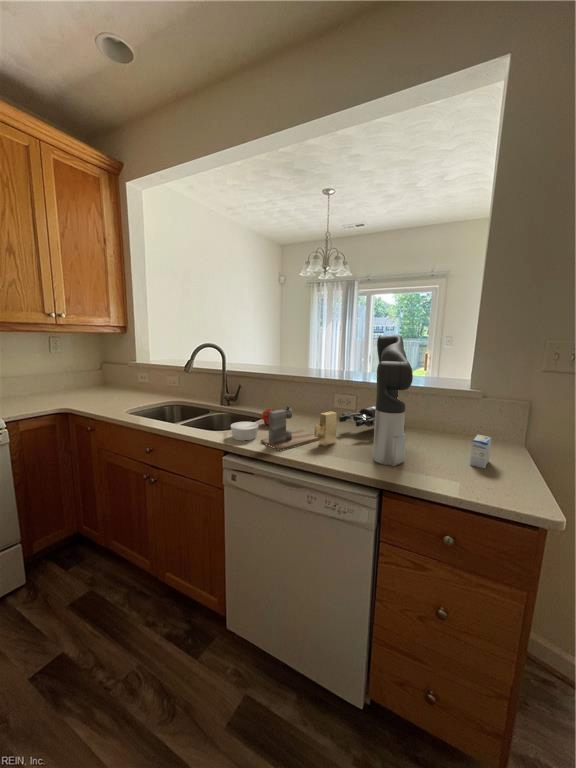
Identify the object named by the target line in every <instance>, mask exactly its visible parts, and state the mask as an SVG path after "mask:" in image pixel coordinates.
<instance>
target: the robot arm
mask: <svg viewBox="0 0 576 768" xmlns="http://www.w3.org/2000/svg"><path fill="white" fill-rule="evenodd" d="M376 349H377V356H378V365H377V369H376V399H375V406H369V407H364V408H362V409H360V410H359V411H358V412H356V413H353V411H349V412H344V413H341V415H340V416H339V418H338V421H339V422H340V423H343V422H351V423H354V422H355V427H361V426H366V427H372V426H374V427H373V428H374V430H373V444H372V445H373V446H372V460H373V461H374V462H376V463H378V464H381V465H385V466H392V467H396V466H398V465H400V464H403V463H404V462H405V452H406V437H407V435H406V433H404V428H405V417H406V403H405V402H403V401H402V400H401V401H400V400H398V399H397V397H398V390H399V391H406V390H408V389H410V388H411V385H412V383H413V381H414V379H413V378H414V374H413V369H412V365H411V364H410V362H409V360H408V357H407V354H406V353H407V352H406V351H405V348H404V340H403V338H402V336H401V335H399V334H389V335H380V336H378V337H377V341H376Z"/></svg>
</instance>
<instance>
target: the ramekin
mask: <svg viewBox="0 0 576 768" xmlns="http://www.w3.org/2000/svg"><path fill="white" fill-rule="evenodd" d="M230 429H231V435H232V438H233V439H234V440H235V439H236V440H235V441H238V440H249V441H253V440H255V439H256V438H257V435H258V430H259V424H258V423H256V422H253V421H238V422H233V423H231V424H230ZM254 438H255V439H254ZM252 439H253V440H252Z"/></svg>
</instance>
